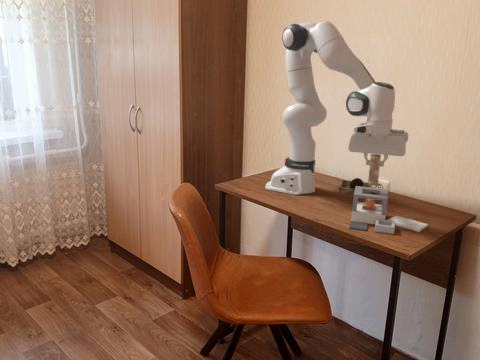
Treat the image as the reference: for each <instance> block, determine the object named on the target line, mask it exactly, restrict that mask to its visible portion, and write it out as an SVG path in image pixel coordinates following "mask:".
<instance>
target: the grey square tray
mask: <svg viewBox="0 0 480 360" xmlns="http://www.w3.org/2000/svg"><path fill="white" fill-rule="evenodd" d="M395 226H396V225H395V221H389V220H388V219H385V220H381V219H376V222H375V224H374V232H375V233H377V232H378V233H383V234H390V235H391V234H392V235H394V234H395V230H396V227H395Z"/></svg>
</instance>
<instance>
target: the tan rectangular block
mask: <svg viewBox="0 0 480 360" xmlns="http://www.w3.org/2000/svg"><path fill="white" fill-rule="evenodd" d="M381 156H382V154H370V159H369V160H370V165H369V169H368V170H369V171H368V181H367V182H368V185H371V186H379V177H380V167H381V166H380V161H381V158H382V157H381Z"/></svg>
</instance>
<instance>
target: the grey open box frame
mask: <svg viewBox="0 0 480 360" xmlns="http://www.w3.org/2000/svg"><path fill="white" fill-rule="evenodd" d="M362 191H366V192H371V193H375V194H364V193H362ZM376 193H377V194H376ZM365 198H366V199H374V200H375V201H381V204H378V203H377V204H376V203H375V206H374V210H368V209H365V208H364V206H365V202H360V201H359V199H365ZM388 199H389V189H386V188H385V189H384V188H379V187H378V188H377V187H371V188H370V187H361V186H356V187H355V192H354V195H353V199H352V206H351V207H352V209H351V218H350V222H356V223H363V224H367V225H375V222H376V219H381V220H386V215H387V208H388V201H389V200H388Z"/></svg>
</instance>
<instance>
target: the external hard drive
mask: <svg viewBox="0 0 480 360" xmlns="http://www.w3.org/2000/svg"><path fill="white" fill-rule="evenodd" d="M387 220H389V221H395V226H397V227H401V228H404V229H407V230H410V231H411V230H412V231H415V232H418V233H420V232H421V231H423V230H424V229H426V228H428V227H429V224H428V223H424V222H421V221H416V220H414V219H411V218H407V217H403V216H400V215H394V216H392V217H390V218H388V219H387Z"/></svg>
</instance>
